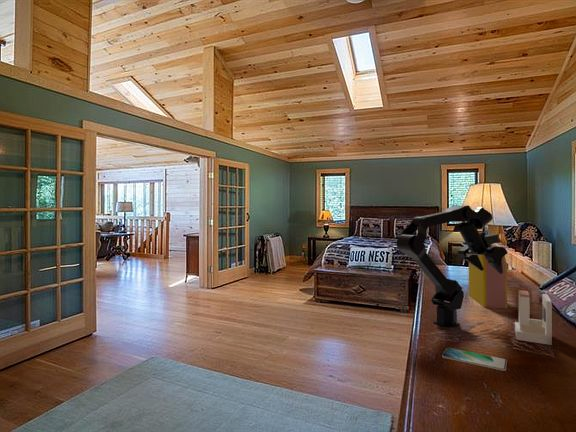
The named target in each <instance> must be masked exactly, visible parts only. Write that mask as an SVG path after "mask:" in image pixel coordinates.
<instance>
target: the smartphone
mask: <svg viewBox="0 0 576 432" xmlns="http://www.w3.org/2000/svg"><path fill="white" fill-rule="evenodd" d="M441 357H442V358H443V359H447V360H452V361H457V362H461V363H465V364H469V365H475V366H480V367H484V368H488V369H494V370H497V371H502V372H504V371H505V372H506V371H507V364H508V360H507V359H506V358H503V357H496V356H492V355H488V354H487V355H486V354H482V353H476V352H473V351H466V350H463V349H457V348H452V347H446V348H445V350H444V351H443V354H442V355H441Z"/></svg>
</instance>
